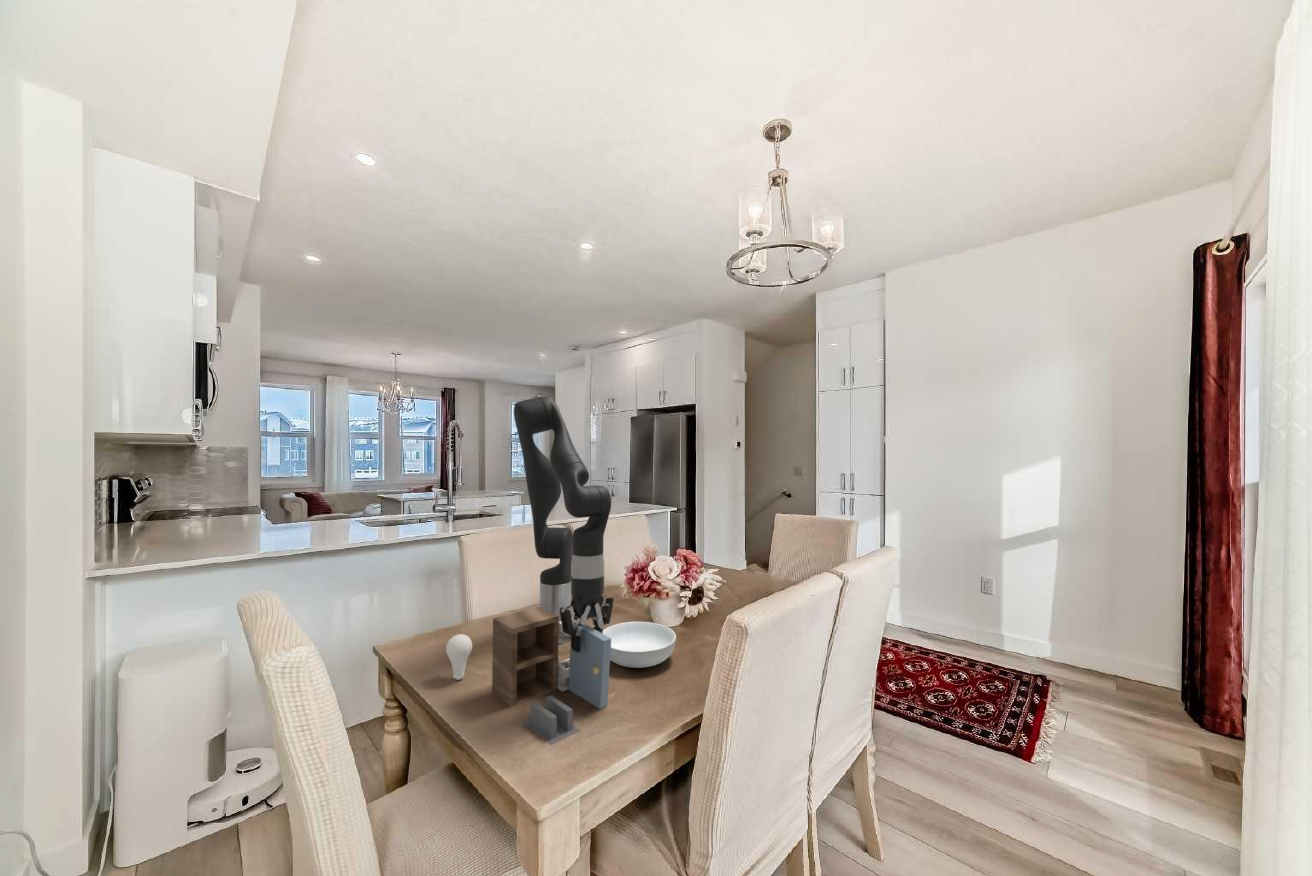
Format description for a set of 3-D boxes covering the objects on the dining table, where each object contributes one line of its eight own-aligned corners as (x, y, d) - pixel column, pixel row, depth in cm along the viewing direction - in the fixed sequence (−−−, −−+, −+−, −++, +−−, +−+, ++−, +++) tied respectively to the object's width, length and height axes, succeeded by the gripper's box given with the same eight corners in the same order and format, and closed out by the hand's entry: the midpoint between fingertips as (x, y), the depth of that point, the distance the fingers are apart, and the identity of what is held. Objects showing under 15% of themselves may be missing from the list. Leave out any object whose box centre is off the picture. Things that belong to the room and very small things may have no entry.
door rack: (550, 714, 110) (550, 691, 110) (580, 735, 103) (581, 710, 103) (521, 726, 105) (521, 702, 106) (551, 749, 98) (551, 723, 98)
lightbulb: (450, 674, 129) (450, 630, 129) (474, 673, 129) (475, 630, 130) (441, 685, 123) (442, 640, 123) (467, 685, 123) (468, 639, 123)
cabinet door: (569, 678, 125) (572, 613, 124) (610, 707, 113) (615, 637, 112) (554, 683, 122) (558, 618, 121) (595, 714, 110) (600, 642, 109)
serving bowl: (583, 667, 134) (584, 640, 134) (624, 640, 153) (625, 617, 153) (653, 685, 124) (653, 656, 124) (688, 653, 143) (688, 629, 143)
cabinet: (553, 673, 130) (554, 602, 130) (579, 688, 122) (580, 613, 122) (492, 696, 118) (493, 618, 118) (515, 714, 110) (516, 631, 110)
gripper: (602, 565, 124) (601, 635, 124) (551, 575, 114) (550, 651, 114) (622, 571, 119) (621, 644, 119) (571, 582, 109) (570, 662, 109)
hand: (587, 647), depth 116 cm, fingers open, 5 cm apart
